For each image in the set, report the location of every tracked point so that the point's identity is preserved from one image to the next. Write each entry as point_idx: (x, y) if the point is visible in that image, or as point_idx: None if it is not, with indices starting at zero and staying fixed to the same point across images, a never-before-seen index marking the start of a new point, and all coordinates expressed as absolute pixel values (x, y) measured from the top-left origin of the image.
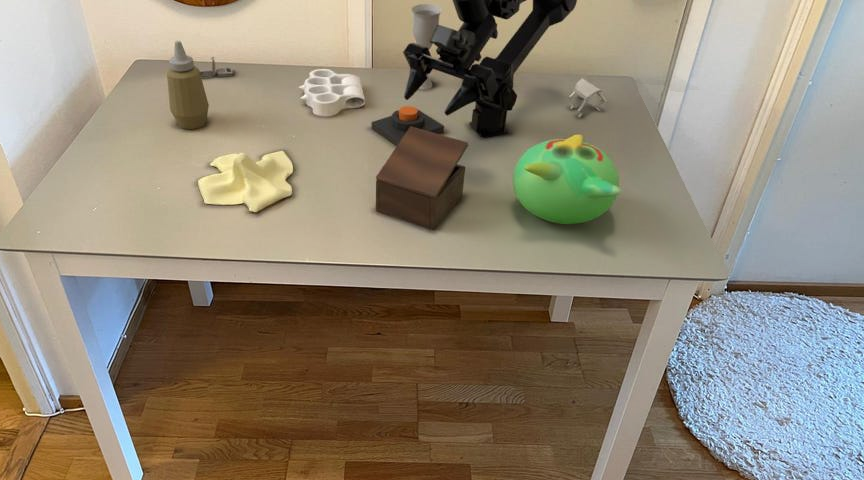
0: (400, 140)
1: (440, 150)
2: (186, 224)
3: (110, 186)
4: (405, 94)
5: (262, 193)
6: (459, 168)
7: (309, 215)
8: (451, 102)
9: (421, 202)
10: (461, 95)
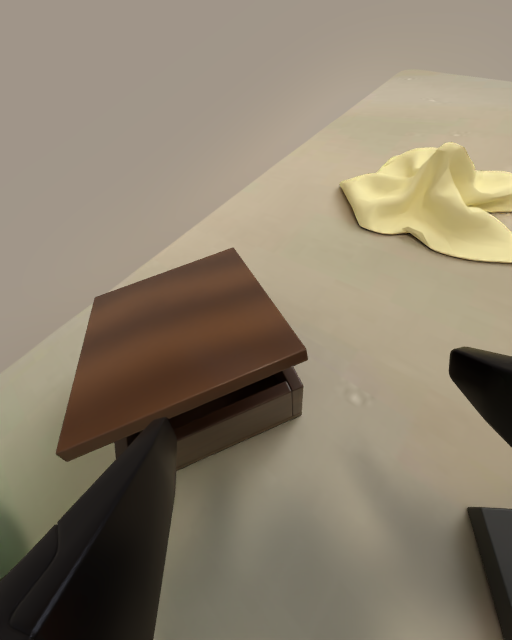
0: (485, 515)
1: (142, 363)
2: (359, 142)
3: (480, 109)
4: (471, 350)
5: (376, 195)
6: (125, 442)
7: (298, 229)
8: (127, 464)
9: None
10: (24, 557)
